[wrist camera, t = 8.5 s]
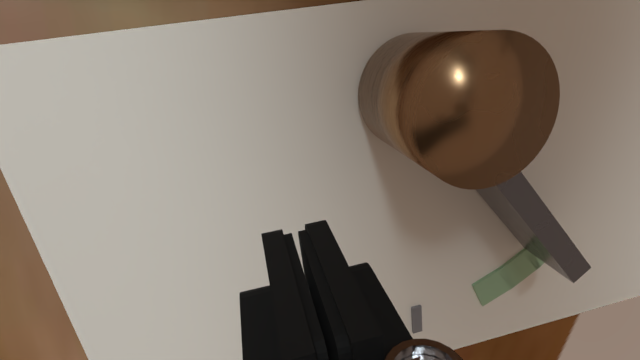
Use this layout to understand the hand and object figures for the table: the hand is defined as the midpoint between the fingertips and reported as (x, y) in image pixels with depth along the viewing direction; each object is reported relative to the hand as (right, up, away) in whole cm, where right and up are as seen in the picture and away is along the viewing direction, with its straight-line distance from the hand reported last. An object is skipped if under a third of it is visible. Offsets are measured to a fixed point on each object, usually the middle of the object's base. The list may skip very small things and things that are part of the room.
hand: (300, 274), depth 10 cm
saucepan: (+7, +3, +7) cm, 10 cm away
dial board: (+4, +1, +9) cm, 10 cm away
